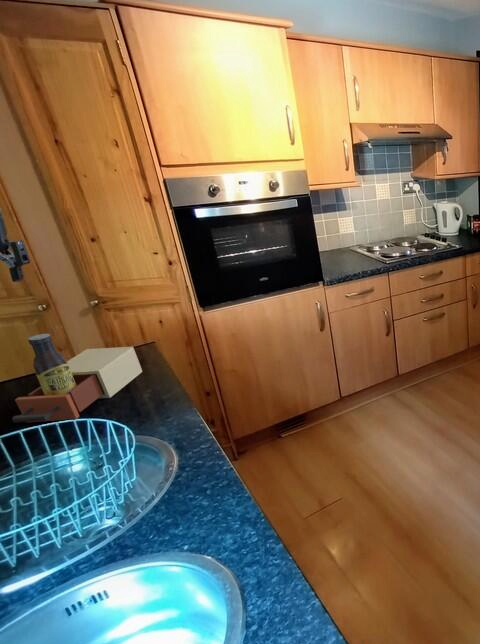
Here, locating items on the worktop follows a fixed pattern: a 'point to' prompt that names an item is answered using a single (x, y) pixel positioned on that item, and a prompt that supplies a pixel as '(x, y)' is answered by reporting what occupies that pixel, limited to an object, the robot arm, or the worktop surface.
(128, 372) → the drawer cabinet
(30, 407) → the reddish brown drawer
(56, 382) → the sauce bottle
